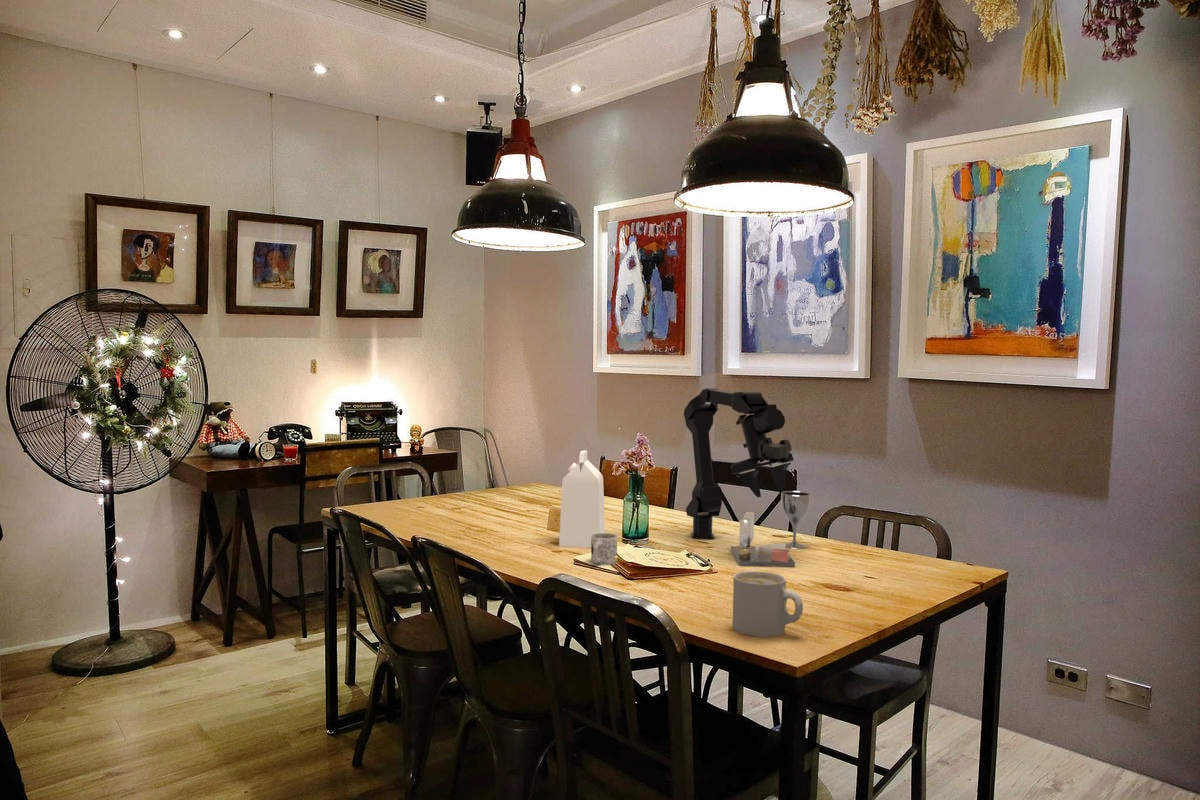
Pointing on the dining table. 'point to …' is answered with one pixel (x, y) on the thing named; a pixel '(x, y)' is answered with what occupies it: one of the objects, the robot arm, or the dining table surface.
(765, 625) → the coffee mug
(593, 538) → the mug
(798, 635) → the dining table surface
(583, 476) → the milk
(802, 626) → the dining table surface
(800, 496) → the wine glass
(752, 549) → the base
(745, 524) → the swing bar
